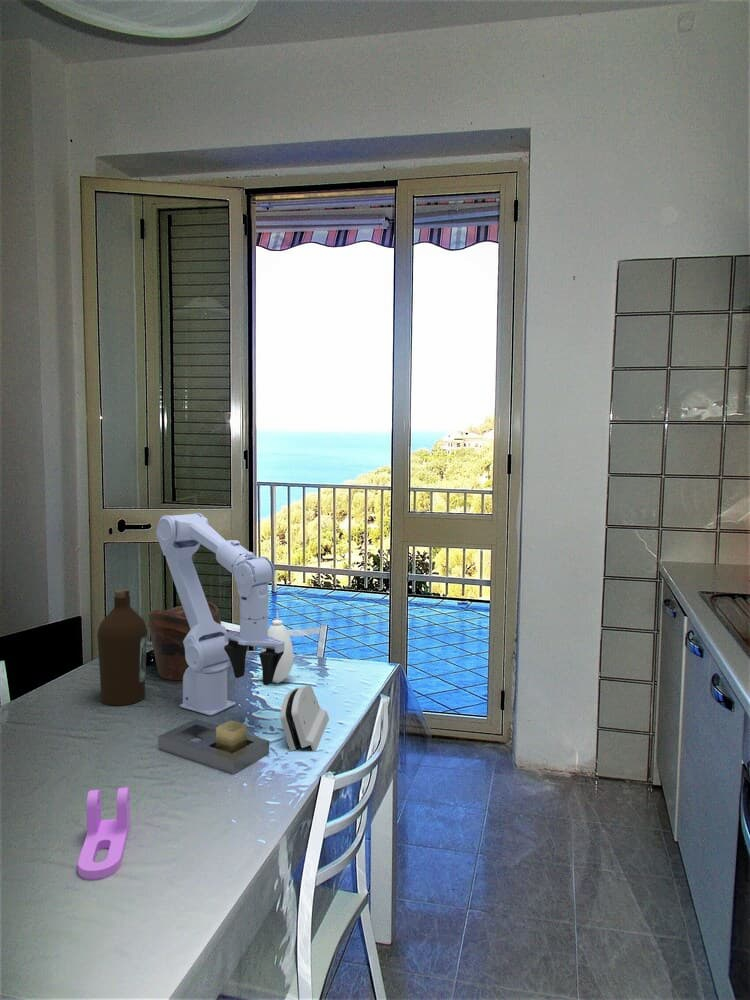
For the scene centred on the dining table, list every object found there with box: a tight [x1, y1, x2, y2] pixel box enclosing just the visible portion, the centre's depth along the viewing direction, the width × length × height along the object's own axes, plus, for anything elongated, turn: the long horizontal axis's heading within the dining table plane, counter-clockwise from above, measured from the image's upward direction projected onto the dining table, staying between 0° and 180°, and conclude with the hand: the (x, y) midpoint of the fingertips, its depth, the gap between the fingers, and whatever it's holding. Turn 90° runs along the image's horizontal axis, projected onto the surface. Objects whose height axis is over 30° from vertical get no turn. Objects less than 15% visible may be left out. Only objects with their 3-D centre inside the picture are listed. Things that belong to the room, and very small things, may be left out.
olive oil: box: [96, 588, 148, 707], centre depth 158 cm, size 11×11×25 cm
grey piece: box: [279, 685, 330, 753], centre depth 142 cm, size 17×5×10 cm, turn 174°
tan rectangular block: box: [216, 719, 248, 754], centre depth 131 cm, size 4×4×6 cm
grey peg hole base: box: [157, 718, 270, 775], centre depth 133 cm, size 19×10×2 cm, turn 60°
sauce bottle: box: [260, 610, 294, 684], centre depth 171 cm, size 8×8×18 cm
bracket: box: [77, 786, 131, 881], centre depth 100 cm, size 13×6×7 cm, turn 13°
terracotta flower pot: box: [147, 601, 222, 681], centre depth 178 cm, size 18×20×18 cm
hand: (253, 680), depth 146 cm, fingers open, 7 cm apart
